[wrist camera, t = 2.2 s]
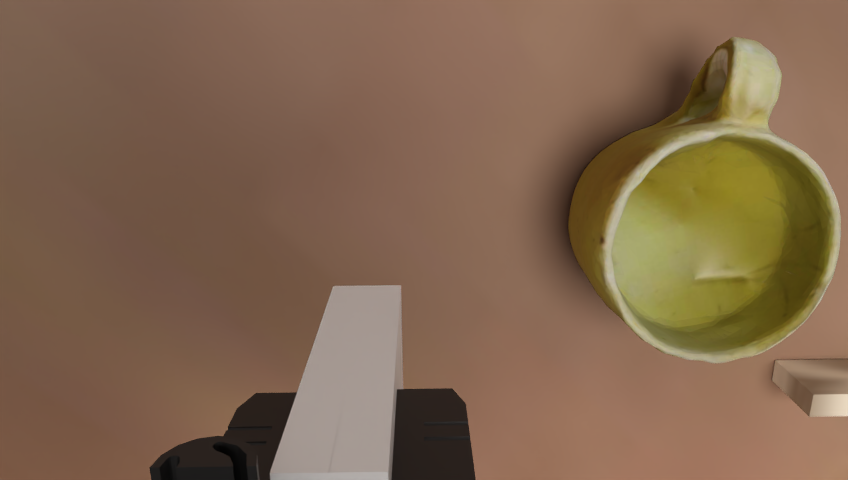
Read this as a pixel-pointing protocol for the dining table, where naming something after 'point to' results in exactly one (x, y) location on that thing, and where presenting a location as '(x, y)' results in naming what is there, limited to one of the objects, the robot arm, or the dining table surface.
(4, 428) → the dining table surface
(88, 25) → the dining table surface
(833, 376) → the cradle
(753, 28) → the dining table surface
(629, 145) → the mug
